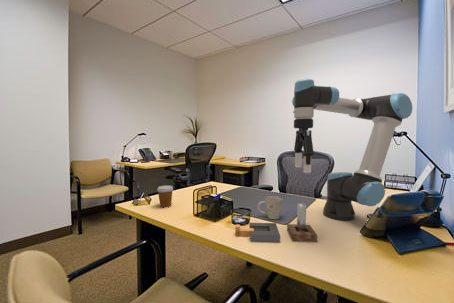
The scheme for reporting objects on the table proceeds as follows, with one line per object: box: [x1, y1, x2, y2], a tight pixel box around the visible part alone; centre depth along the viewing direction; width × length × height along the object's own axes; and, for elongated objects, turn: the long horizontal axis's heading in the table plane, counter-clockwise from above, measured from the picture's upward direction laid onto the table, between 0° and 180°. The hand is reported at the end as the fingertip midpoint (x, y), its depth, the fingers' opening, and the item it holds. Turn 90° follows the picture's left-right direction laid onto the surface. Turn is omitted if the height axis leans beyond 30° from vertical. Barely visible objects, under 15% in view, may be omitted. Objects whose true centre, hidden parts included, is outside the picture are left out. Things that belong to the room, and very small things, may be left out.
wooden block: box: [234, 224, 254, 237], centre depth 97 cm, size 8×3×4 cm, turn 86°
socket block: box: [248, 222, 281, 243], centre depth 97 cm, size 12×12×3 cm
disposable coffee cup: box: [156, 185, 174, 208], centre depth 136 cm, size 10×10×12 cm
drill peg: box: [296, 202, 307, 232], centre depth 95 cm, size 4×4×14 cm
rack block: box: [286, 223, 318, 243], centre depth 96 cm, size 10×10×3 cm
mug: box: [257, 196, 283, 220], centre depth 117 cm, size 8×13×10 cm, turn 78°
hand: (302, 169), depth 93 cm, fingers open, 13 cm apart
